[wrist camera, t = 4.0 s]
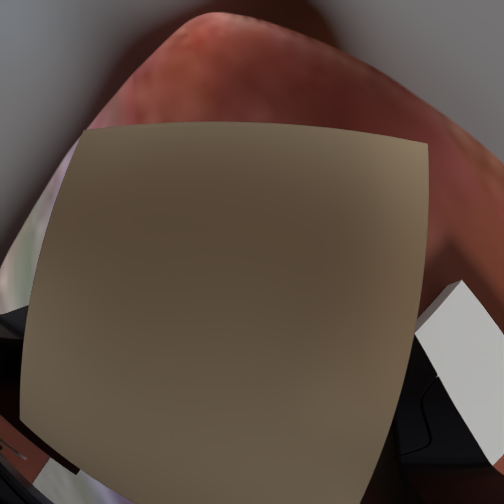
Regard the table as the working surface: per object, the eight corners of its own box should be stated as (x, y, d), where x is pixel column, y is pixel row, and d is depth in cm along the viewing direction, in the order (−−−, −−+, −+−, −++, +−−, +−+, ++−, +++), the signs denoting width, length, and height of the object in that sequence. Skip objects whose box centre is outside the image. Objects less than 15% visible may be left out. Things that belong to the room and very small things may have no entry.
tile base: (528, 397, 13) (545, 403, 11) (409, 510, 14) (415, 527, 11) (447, 285, 17) (461, 279, 15) (312, 411, 18) (310, 423, 15)
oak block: (332, 390, 14) (326, 563, 2) (225, 365, 15) (20, 419, 4) (356, 280, 14) (427, 144, 3) (249, 261, 16) (83, 130, 5)
